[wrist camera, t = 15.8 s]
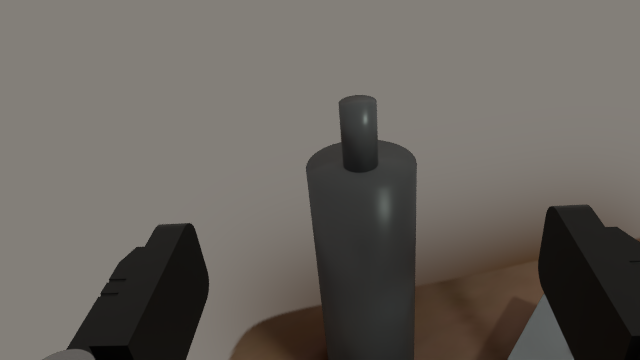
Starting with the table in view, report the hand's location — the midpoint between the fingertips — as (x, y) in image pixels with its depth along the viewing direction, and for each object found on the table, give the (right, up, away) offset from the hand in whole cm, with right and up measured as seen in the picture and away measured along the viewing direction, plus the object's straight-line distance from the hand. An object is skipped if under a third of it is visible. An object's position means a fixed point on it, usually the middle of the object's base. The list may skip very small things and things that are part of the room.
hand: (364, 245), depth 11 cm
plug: (+2, -11, +19) cm, 22 cm away
